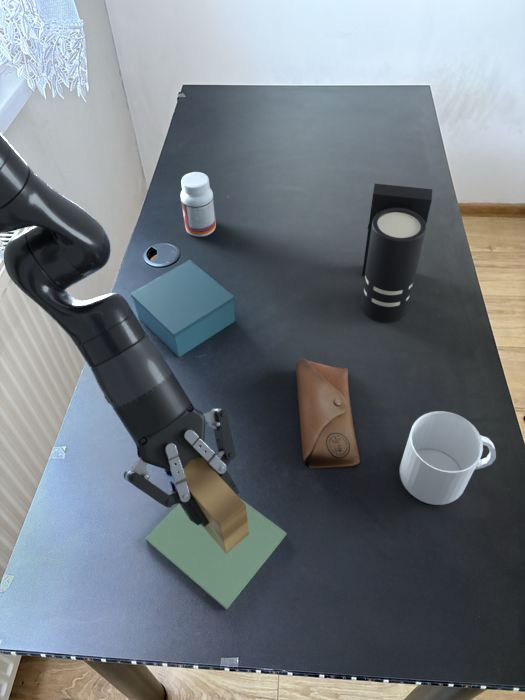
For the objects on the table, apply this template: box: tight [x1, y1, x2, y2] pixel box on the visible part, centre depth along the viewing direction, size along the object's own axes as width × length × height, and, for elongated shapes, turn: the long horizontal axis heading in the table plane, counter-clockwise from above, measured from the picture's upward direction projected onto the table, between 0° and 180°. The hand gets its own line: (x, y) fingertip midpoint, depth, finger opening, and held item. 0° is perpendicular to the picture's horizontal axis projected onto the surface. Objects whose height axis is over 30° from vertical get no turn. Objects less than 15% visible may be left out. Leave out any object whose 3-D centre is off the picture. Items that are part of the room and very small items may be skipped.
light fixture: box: [360, 183, 433, 323], centre depth 99 cm, size 10×14×18 cm
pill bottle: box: [180, 171, 217, 238], centre depth 115 cm, size 6×6×11 cm
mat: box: [145, 498, 288, 610], centre depth 78 cm, size 12×14×1 cm
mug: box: [399, 410, 497, 506], centre depth 79 cm, size 12×9×9 cm
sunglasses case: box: [295, 357, 361, 470], centre depth 89 cm, size 18×7×7 cm
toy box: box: [130, 259, 236, 358], centre depth 101 cm, size 12×12×6 cm
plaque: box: [183, 457, 249, 554], centre depth 70 cm, size 10×4×8 cm, turn 41°
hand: (219, 511), depth 69 cm, fingers closed on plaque, 3 cm apart
